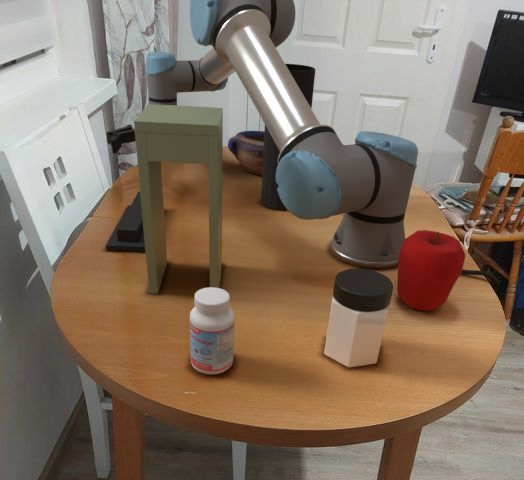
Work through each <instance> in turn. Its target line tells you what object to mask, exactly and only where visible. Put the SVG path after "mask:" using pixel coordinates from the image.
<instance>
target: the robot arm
mask: <svg viewBox="0 0 524 480" xmlns="http://www.w3.org/2000/svg"><path fill="white" fill-rule="evenodd" d="M189 23H190V28H191V29H190V30H191V33H192V36H193V39H194V41H195V42H196V44H198V45H200V46H203V47H209V46H211V47H212V48H211V49H210V50H209V51H208V52H206V53H205V54H204V55H203V56H202V57H201V58H200V59H195V60H194V59H193V60H176V56H175V54H174V53H173V52H169V51H152V52H148V53H147V54H146V58H145V60H146V61H145V74H146V75H145V76H146V83H147V93H148V104H156V105H175V106H178V94H179V93H181V94H183V93H198V92H201V93H202V92H216V91H222V90H224V89H225V88H226V87H227V84H228V81H229V77H230V76H231V75H233V74H236V75H237V76H238V78H239V80H240V82H241V84H242V86H243V88H244V89H245V91H246V93H247V95H248V96H249V98H250V100H251V102H252V104H253V105H254V107H255V109H256V111H257V113H258V114H259V116H260V119H261V120H262V122H263V123H264V126H265V125H266V127H267V129H268V131H269V133H270V134H271V136H272V138H273V140H274V142H275V143H276V145H277V147H278V149H279V151H280V154H279V156H278V166H277V171H276V183H277V184H278V185H279V187H278V188H277V191H278V194H279V197H280V199H281V201H282V203H283V204H284V206H285V207H286V208H287V210H286V211H288V212H289V213H290V214H291V215H293V216H294V217H296V218H297V219H300V220H307V221H309V220H325V219H329V218H331V217H334V216H340V215H343V217H342V218H341V221H340V222H339V225H338V226H337V229H335V230H336V231H335V233H333V236H332V240H331V246H330V250H331V253H332V254H333V256H334V257H335V258H337V259H338V260H340V261H342V262H343V263H346V264H349V265H352V266H355V267H359V268H363V269H371V270H374V269H377V270H379V269H381V270H382V269H390V268H394V267H398V257H399V253H400V250H401V247H402V244H403V241H404V239H406V232H405V230H406V229H405V223H404V222H405V216H406V211H407V208H408V204H409V199H410V194H411V190H412V186H413V182H414V177H415V173H416V169H417V167H418V165H417V161H418V155H419V148H418V146H417V144H416V143H415V142H413V141H411V140H409V139H406V138H404V137H400V136H398V135H394V134H389V133H385V132H378V131H371V130H370V131H369V130H363V131H362V130H361V131H360V132H358V133H357V135H356V137H355V138H354V144H344V143H343V142H342V140H341V139H340V137H339V135H338V134H337V132H336V130H335V129H334V128H333V127H332V126H330V125H328V124H321V123H320V121H319V119H318V118H317V116H316V114H315V113H314V111H313V108H312V109H311V107H310V106H309V104H308V102H307V101H306V99H305V97H304V95H303V94H302V92H301V90H300V89H299V87H298V85H297V83H296V82H295V80H294V78H293V77H292V75H291V73H290V71H289V70H288V68H287V66H286V65H285V64H286V63H285V61H284V59H283V58H282V56H281V54H280V52H279V51H278V50H277V48H278V47H279V46H281V45H282V44H283V43H285V41H286V40H287V39H288V38H289V36H290V35H291V34H292V31H293V29H294V27H295V23H296V6H295V2H294V0H190V2H189ZM133 126H134V125H132V124H127V125H125V126H123V127H120V128H116V129H113V130H109V131H106V132H105V135H106V142H107V145H108V144H109V145H110V146H111V150H112V154H117V153H118V152H119V150H121V148H122V146H123V145H124V144H129V143H134V142H135V143H136V138H135V127H133ZM332 228H333V229H332V230H334V227H332ZM460 275H468V276H481V277H486V278H488V279H490V281H492V282H493V284H495V285H500V284H501V282H500V280H499V279H498V278H497V276H496V275H495V274H493V273H491V272H489V271H486V270H478V269H473V270H472V269H465V268H463V269H462V272H461V273H460Z"/></svg>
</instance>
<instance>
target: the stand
mask: <svg viewBox="0 0 524 480" xmlns="http://www.w3.org/2000/svg"><path fill="white" fill-rule="evenodd" d="M223 115H224V108H223V107H210V106H209V107H208V106H195V105H194V106H193V105H191V106H189V105H177V106H175V105H156V104H149V103H148V104H147V105H146V106H145V107H144V109H142V111H141V112H140V113H139V115H137V117H136V118H135V119H134V120H133V126H134V127H133V128H135V138H136V141H135V148H136V159H137V170H138V183H139V192H140V195H141V206H142V217H143V229H144V240H145V251H146V252H145V261H146V272H147V273H146V274H147V283H148V294H155V295H159V291H160V288H161V284H162V281H163V279H164V278H163V277H164V274H165V271H166V268H167V266H168V265H167V264H168V254H167V253H168V252H167V238H166V237H167V236H166V223H165V206H164V187H163V174H162V173H163V172H162V163H178V164H179V163H182V164H201V165H208V226H209V227H208V233H209V234H208V242H209V243H208V245H209V246H208V249H209V251H208V252H209V253H208V255H209V258H208V259H209V287H215V288H220V285H221V277H222V276H221V275H222V268H223V267H222V265H223V152H224V151H223V148H224V147H223V143H224V142H223V141H224V139H223V137H224V135H223V134H224V133H223V129H224V127H223V125H224V123H223V122H224V121H223V117H224V116H223Z"/></svg>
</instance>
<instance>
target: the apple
mask: <svg viewBox="0 0 524 480" xmlns="http://www.w3.org/2000/svg"><path fill="white" fill-rule="evenodd" d="M465 260H466V252H465V250H464V248H463V245H462V244H461V242H460V241H459V240H458V239H457V238H456V237H455V236H453V235H449V234H447V233H444V232H439V231H436V230H428V229H423V230H416V231H415V232H413V233H412V234H410V235H408V236H407V237H405V239H404V241H403V244H402V247H401V250H400V253H399V257H398V265H397V282H396V284H397V285H396V292H397V295H398V297H399V298H400V299H401V300H402V301H403V302H404V303H405V304H406V305H407V306H408V307H409V308H410V309H413V310H416V311H421V312H432V311H435V309H438V308H439V307H441V306H443V305H445V304H446V302H447V300H448V299H449V296H450V294H451V292H452V290H453V288H454V286H455V285H456V282H457V281H458V279H459V277H460V275H461V274H460V273H461V272H462V269H464V263H465Z"/></svg>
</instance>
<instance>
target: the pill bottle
mask: <svg viewBox="0 0 524 480" xmlns="http://www.w3.org/2000/svg"><path fill="white" fill-rule="evenodd" d="M230 296H231V295H230V293H229V292H228V291H227V290H225V289H223V288H220V287H219V288H215V287H210V286H209V287H203V288H200V289H198V290H197V291H196V292H194V302H193V304H194V307H193V308H192V309H191V311H190V313H189V350H190V363H191V366H192V367H193V369H195V370H196V371H197V372H199V373H201V374H205V375H219V374H223V373H224V372H226V371H227V370H229V369H230V368H231V367H232V365H233V363H234V347H235V346H234V343H235V313H234V310H233V309H232V308H231V306H230V305H231V301H230V300H231V298H230Z"/></svg>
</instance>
